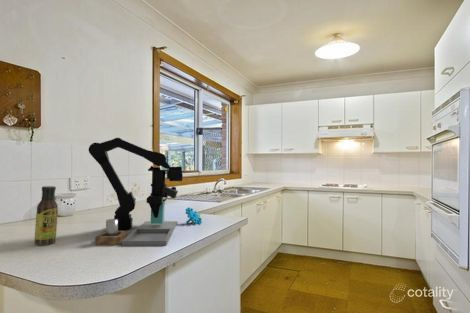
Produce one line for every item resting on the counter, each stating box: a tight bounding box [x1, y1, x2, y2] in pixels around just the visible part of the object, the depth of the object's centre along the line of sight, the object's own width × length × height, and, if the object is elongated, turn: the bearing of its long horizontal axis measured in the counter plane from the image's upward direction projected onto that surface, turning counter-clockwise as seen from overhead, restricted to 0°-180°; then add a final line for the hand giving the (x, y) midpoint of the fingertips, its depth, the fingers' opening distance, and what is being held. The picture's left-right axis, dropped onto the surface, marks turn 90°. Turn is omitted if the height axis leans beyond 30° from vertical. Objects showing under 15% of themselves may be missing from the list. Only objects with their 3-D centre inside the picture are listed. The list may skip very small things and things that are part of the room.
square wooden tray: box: [94, 230, 129, 246], centre depth 100 cm, size 8×8×3 cm
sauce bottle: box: [34, 185, 59, 246], centre depth 97 cm, size 6×6×20 cm
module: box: [150, 201, 166, 224], centre depth 123 cm, size 5×5×9 cm
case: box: [121, 220, 179, 247], centre depth 114 cm, size 15×36×2 cm, turn 6°
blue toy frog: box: [185, 207, 203, 225], centre depth 134 cm, size 11×6×10 cm
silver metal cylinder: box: [105, 218, 118, 236], centre depth 100 cm, size 4×4×8 cm
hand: (157, 216), depth 123 cm, fingers closed on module, 5 cm apart
